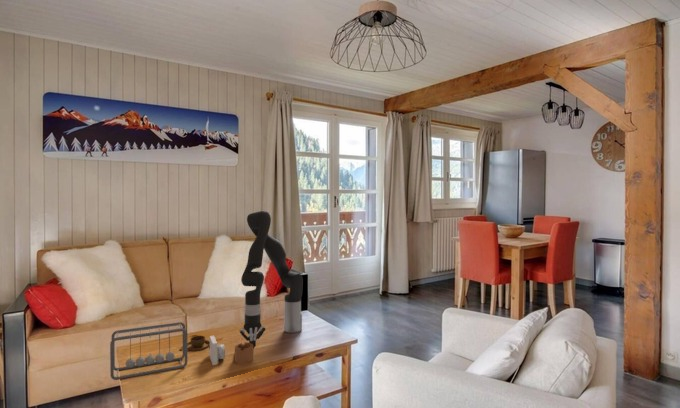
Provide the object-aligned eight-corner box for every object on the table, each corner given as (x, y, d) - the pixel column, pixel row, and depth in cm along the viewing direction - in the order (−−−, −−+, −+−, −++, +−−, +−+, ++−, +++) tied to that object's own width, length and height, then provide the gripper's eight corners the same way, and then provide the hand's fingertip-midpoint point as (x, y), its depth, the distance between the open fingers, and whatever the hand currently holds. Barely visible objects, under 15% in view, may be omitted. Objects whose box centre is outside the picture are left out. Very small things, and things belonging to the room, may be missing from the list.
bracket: (252, 363, 183) (252, 348, 183) (234, 364, 181) (234, 350, 181) (253, 348, 200) (253, 334, 200) (236, 349, 199) (236, 335, 199)
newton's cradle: (185, 358, 187) (185, 321, 186) (187, 367, 178) (187, 328, 177) (111, 371, 173) (111, 330, 173) (110, 381, 164) (110, 339, 164)
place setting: (216, 341, 210) (216, 330, 210) (215, 356, 191) (215, 344, 190) (181, 344, 205) (181, 333, 205) (176, 360, 186) (176, 348, 186)
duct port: (222, 354, 192) (222, 334, 191) (225, 363, 183) (225, 341, 182) (209, 356, 189) (209, 336, 189) (212, 365, 180) (212, 343, 180)
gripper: (264, 308, 198) (263, 343, 199) (237, 312, 192) (237, 347, 193) (268, 313, 191) (267, 348, 192) (240, 316, 186) (240, 353, 186)
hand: (252, 347), depth 193 cm, fingers closed
